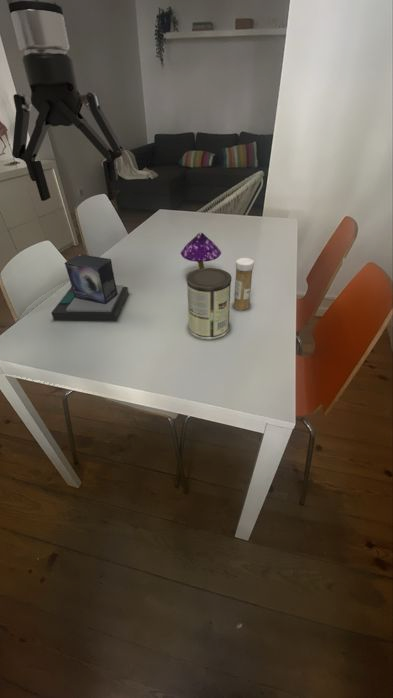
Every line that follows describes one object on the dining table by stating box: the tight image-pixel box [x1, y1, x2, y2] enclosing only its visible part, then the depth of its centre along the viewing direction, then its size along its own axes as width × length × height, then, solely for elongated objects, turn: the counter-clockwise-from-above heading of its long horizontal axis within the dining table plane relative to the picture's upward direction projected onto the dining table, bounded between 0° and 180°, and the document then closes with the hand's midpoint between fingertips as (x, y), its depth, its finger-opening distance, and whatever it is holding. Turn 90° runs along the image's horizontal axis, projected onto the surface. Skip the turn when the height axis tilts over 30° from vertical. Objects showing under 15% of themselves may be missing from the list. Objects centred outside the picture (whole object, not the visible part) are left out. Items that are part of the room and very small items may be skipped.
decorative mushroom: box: [180, 232, 222, 269], centre depth 98 cm, size 12×12×15 cm
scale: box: [50, 284, 130, 322], centre depth 89 cm, size 17×15×3 cm
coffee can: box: [185, 267, 232, 340], centre depth 77 cm, size 10×10×14 cm
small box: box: [64, 253, 118, 304], centre depth 85 cm, size 11×6×10 cm, turn 68°
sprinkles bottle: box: [233, 257, 255, 311], centre depth 85 cm, size 5×5×14 cm
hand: (79, 199), depth 63 cm, fingers open, 13 cm apart
